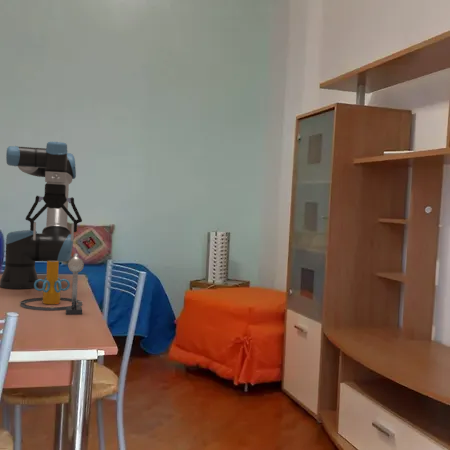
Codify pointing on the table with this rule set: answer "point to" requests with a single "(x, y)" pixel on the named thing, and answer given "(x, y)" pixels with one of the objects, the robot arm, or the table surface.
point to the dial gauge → (75, 283)
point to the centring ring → (47, 307)
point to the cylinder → (51, 284)
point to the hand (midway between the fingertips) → (53, 240)
